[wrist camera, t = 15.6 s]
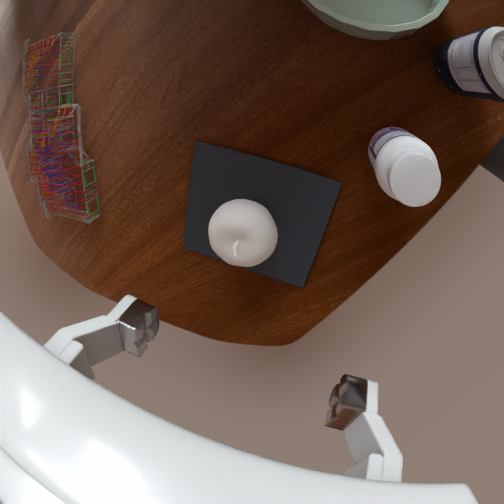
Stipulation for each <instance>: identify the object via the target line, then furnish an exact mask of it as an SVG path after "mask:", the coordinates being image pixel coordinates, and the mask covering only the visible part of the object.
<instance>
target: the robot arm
mask: <svg viewBox="0 0 504 504" xmlns="http://www.w3.org/2000/svg"><path fill="white" fill-rule="evenodd" d="M158 314H159V310H158V308H156V307H154V306H152V305H150V304H148V303H146V302H144V301H142V300H140V299H137V298H135V297H133V296H131V295H126V296H125V297H124V298H123V299H122V300H121V301H120V302H119V303H118V304H117V305H116V306H115V308H113V310H112V311H111V312H110V313H109V314H108V315H107V316H104V315H103V316H100V317H96V318H93V319H90V320H87V321H84V322H81V323H77V324H75V325H71V326H68V327H65V328H61V329H59V330H58V331H57V332H56V334H55V335H54V336H53V337H52V338H51V339H50V340H49V341H48V342H47V343H46V344H45V345H44V346H42V345H41V344H39V343H38V342H37V341H35V340H34V339H33V338H32V337H30V336H29V335H28V334H27V333H25V332H24V331H23V330H22V329H20V328H19V327H18V326H17V325H16V324H14V323H13V322H12V321H11V320H10V319H9V318H7V317H6V316H5V315H4V314H3V313H2V312H1V311H0V504H478V502H477V500H476V498H475V496H474V494H473V493H472V491H471V490H470V488H469V487H468V485H466V484H464V483H445V484H443V483H442V484H441V483H440V484H434V483H433V484H432V483H428V484H427V483H404V482H401V477H402V464H403V463H402V462H403V456H402V454H401V452H400V450H399V449H398V447H397V445H396V443H395V441H394V439H393V437H392V435H391V434H390V432H389V430H388V428H387V426H386V425H385V423H384V421H383V419H382V417H381V416H380V415H378V391H379V384H378V383H377V382H374V381H370V380H366V379H362V378H358V377H355V376H350V375H347V374H345V375H343V376H342V378H341V381H340V383H339V384H337V385H336V386H335V387H334V389H333V391H332V393H331V396H330V400H329V406H330V407H331V409H330V410H329V411H328V412H327V417H326V422H325V426H328V427H331V428H335V429H339V430H343V434H344V437H345V439H346V442H347V445H348V448H349V451H350V453H351V456H352V459H353V461H354V466H352V467H351V468H349V469H347V470H345V471H344V472H343V473H342V475H336V474H331V473H326V472H321V471H316V470H311V469H307V468H302V467H298V466H294V465H290V464H286V463H282V462H279V461H275V460H271V459H268V458H265V457H261V456H258V455H255V454H251V453H248V452H245V451H242V450H239V449H236V448H233V447H230V446H228V445H225V444H222V443H219V442H217V441H214V440H212V439H209V438H206V437H204V436H201V435H199V434H196V433H194V432H192V431H189V430H187V429H185V428H182V427H180V426H178V425H176V424H173V423H171V422H169V421H167V420H165V419H163V418H160V417H158V416H156V415H154V414H152V413H150V412H148V411H146V410H144V409H142V408H140V407H138V406H136V405H135V404H133V403H131V402H129V401H127V400H125V399H123V398H122V397H120V396H118V395H116V394H115V393H113V392H111V391H109V390H108V389H106V388H104V387H103V386H101V385H99V384H98V383H96V382H94V381H93V380H94V378H95V377H94V373H93V371H92V368H91V366H93V365H95V364H97V363H99V362H101V361H104V360H105V359H108V358H110V357H112V356H114V355H116V354H118V353H120V352H122V351H124V350H125V351H127V352H129V353H131V354H133V355H135V356H137V357H141V355H142V354H143V353H144V351H145V349H146V348H147V342H149V341H151V340H153V339H154V337H155V336H156V333H157V331H158V329H159V320H158V319H157V316H158Z"/></svg>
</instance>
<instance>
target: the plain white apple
mask: <svg viewBox="0 0 504 504" xmlns="http://www.w3.org/2000/svg"><path fill="white" fill-rule="evenodd" d="M208 234H209V241H210V244H211V247H212V249H213V250H214V252H215V253H216V254H217V255H218V256H219V257H220V258H221V259H223V260H224V261H225V262H227V263H228V264H231V265H235V266H243V267H252V266H255V265H258V264H260V263H262V262H263V261H265V260H266V259H267V258H268V257H270V255H271V254H272V253H273V251H274V250H275V247H276V244H277V239H278V232H277V227H276V224H275V222H274V220H273V218H272V216H271V214H270V213H269V211H268V210H267V209H266V208H265V207H264V206H263V205H261V204H259V203H257V202H254V201H251V200H247V199H235V200H231V201H228V202H226V203H224V204H222V205H221V206H220V207H219V208H218V209H217V210H216V211H215V213H214V214H213V216H212V218H211V220H210V222H209V227H208Z"/></svg>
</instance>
